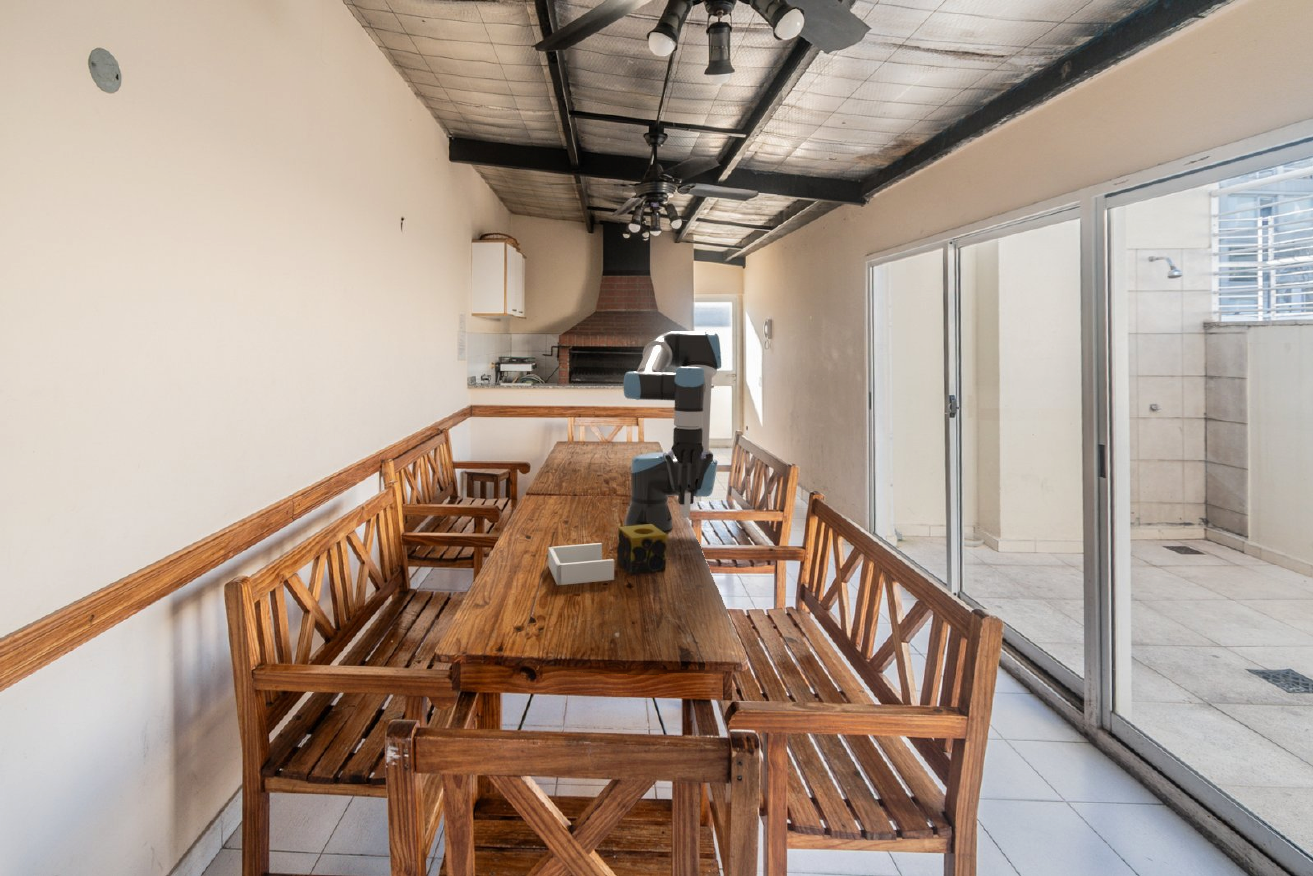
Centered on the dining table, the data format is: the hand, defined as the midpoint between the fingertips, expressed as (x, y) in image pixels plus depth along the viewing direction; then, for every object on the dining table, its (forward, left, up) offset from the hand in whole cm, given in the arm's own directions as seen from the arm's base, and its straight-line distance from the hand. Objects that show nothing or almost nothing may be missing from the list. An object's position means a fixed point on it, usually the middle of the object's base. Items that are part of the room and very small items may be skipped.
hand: (685, 516), depth 167 cm
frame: (+27, -5, -13) cm, 30 cm away
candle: (+12, -2, -13) cm, 18 cm away
